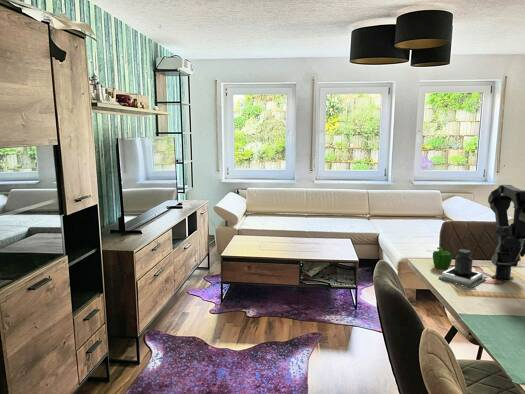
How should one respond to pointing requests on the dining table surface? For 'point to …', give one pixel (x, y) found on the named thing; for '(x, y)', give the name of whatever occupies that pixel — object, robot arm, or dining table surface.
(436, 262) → the bell pepper
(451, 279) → the gray square tray
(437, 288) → the dining table surface
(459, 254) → the supplement bottle
